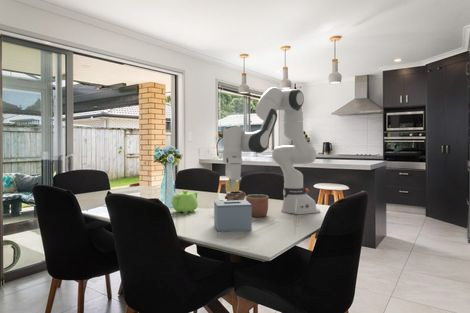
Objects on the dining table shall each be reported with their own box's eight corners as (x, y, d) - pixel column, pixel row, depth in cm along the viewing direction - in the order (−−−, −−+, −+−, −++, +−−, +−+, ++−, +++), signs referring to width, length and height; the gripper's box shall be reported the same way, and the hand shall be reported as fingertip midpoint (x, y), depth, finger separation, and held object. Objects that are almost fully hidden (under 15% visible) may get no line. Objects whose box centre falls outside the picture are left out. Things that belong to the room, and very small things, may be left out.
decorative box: (217, 208, 197) (217, 193, 197) (231, 203, 215) (231, 188, 215) (236, 210, 192) (236, 194, 191) (249, 204, 210) (249, 189, 209)
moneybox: (246, 223, 160) (245, 199, 160) (251, 230, 148) (251, 204, 148) (214, 225, 157) (214, 201, 157) (217, 231, 145) (217, 205, 145)
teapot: (189, 207, 200) (189, 187, 200) (205, 210, 192) (205, 189, 192) (164, 213, 184) (164, 191, 184) (181, 216, 176) (180, 193, 176)
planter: (264, 212, 185) (264, 194, 184) (271, 217, 173) (271, 197, 172) (243, 213, 182) (243, 194, 182) (249, 218, 170) (249, 198, 170)
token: (237, 190, 154) (237, 180, 153) (238, 191, 151) (238, 180, 151) (225, 190, 152) (225, 180, 152) (226, 191, 150) (226, 181, 150)
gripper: (222, 158, 161) (222, 185, 161) (229, 159, 141) (229, 191, 141) (234, 157, 162) (234, 184, 163) (243, 159, 142) (243, 190, 142)
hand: (232, 187), depth 152 cm, fingers closed on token, 2 cm apart
